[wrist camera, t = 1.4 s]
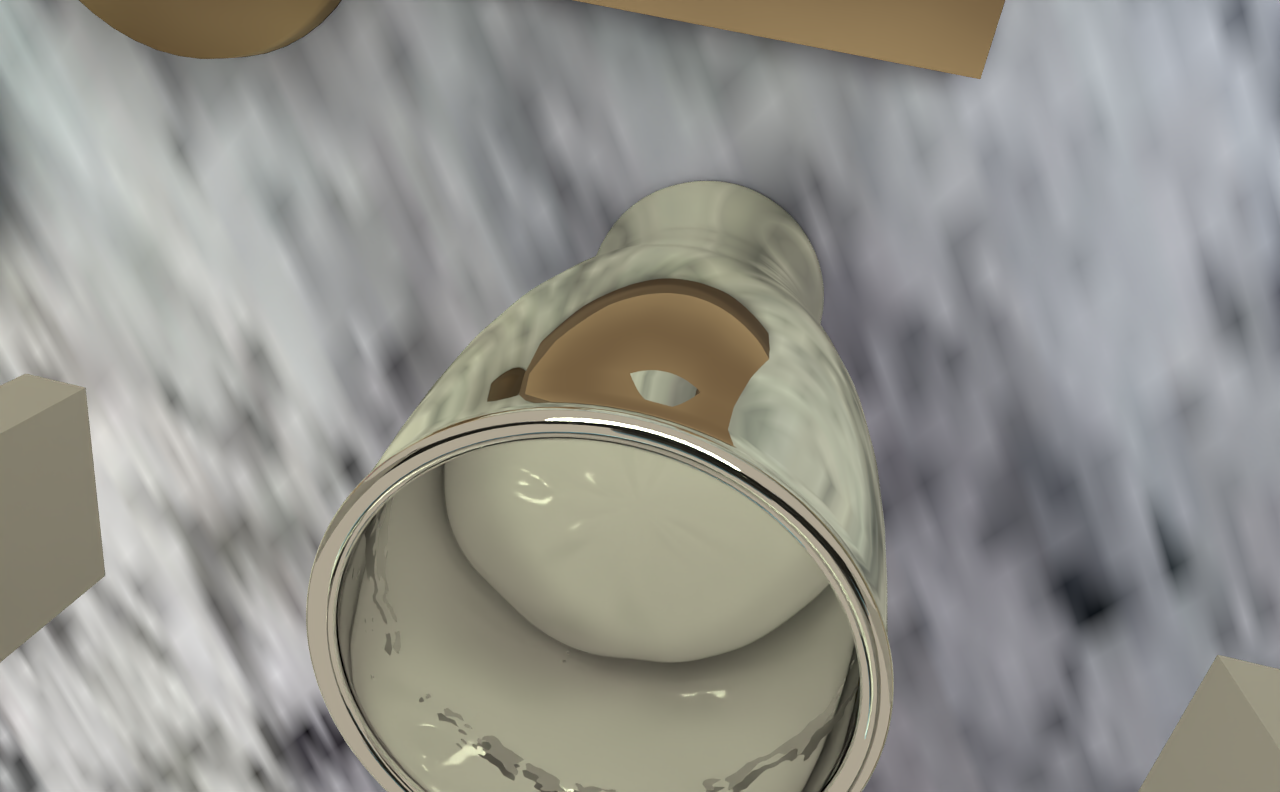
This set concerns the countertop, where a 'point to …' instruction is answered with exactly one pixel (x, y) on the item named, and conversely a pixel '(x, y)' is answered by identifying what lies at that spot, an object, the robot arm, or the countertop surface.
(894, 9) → the u-shaped block
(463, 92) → the countertop surface
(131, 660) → the countertop surface
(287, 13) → the bobbin
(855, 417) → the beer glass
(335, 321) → the countertop surface
